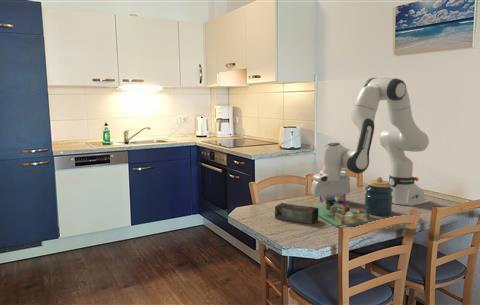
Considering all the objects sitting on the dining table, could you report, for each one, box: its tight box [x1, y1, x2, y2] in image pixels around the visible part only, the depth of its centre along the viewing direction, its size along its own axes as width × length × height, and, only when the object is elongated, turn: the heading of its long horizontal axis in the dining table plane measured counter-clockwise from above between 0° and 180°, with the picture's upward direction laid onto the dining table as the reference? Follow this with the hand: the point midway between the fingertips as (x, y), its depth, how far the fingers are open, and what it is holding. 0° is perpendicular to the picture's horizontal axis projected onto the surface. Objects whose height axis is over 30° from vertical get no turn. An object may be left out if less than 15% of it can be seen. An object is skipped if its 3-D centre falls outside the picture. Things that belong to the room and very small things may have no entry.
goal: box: [335, 209, 370, 224], centre depth 181 cm, size 14×6×4 cm, turn 108°
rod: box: [325, 197, 351, 216], centre depth 192 cm, size 17×3×5 cm, turn 18°
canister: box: [363, 176, 393, 217], centre depth 196 cm, size 13×13×18 cm
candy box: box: [318, 169, 347, 203], centre depth 218 cm, size 14×6×16 cm, turn 80°
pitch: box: [309, 204, 376, 228], centre depth 191 cm, size 20×30×3 cm, turn 18°
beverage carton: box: [274, 202, 319, 225], centre depth 186 cm, size 8×19×7 cm, turn 60°
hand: (330, 203), depth 198 cm, fingers open, 4 cm apart
